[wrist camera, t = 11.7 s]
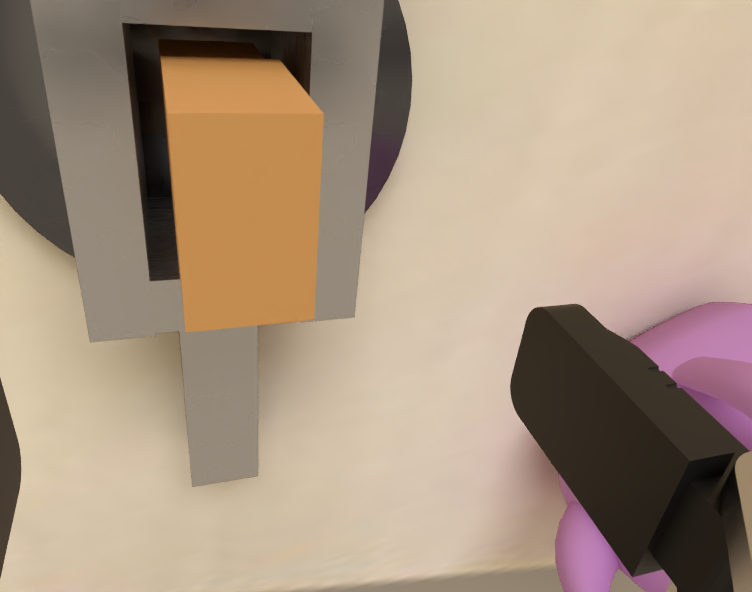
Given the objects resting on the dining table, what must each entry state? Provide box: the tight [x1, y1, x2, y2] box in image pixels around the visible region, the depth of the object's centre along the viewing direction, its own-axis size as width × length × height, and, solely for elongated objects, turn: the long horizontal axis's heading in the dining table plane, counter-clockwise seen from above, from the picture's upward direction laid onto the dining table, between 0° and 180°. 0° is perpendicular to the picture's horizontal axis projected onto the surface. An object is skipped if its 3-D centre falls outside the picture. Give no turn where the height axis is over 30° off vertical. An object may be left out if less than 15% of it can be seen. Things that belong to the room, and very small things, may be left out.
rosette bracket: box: [0, 0, 412, 487], centre depth 22 cm, size 15×24×8 cm, turn 174°
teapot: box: [555, 302, 752, 592], centre depth 34 cm, size 23×21×15 cm
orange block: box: [158, 39, 324, 332], centre depth 17 cm, size 3×5×10 cm, turn 175°
